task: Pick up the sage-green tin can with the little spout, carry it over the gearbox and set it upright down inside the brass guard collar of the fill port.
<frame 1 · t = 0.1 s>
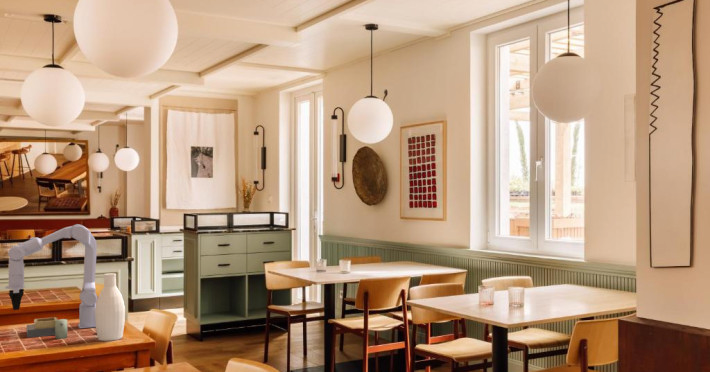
hand: (16, 308, 280), 10 cm above the table, tool pointing down, fingers open, 7 cm apart
spout can: (61, 337, 269), on the table
bottle: (110, 339, 267), on the table
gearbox: (45, 333, 278), on the table
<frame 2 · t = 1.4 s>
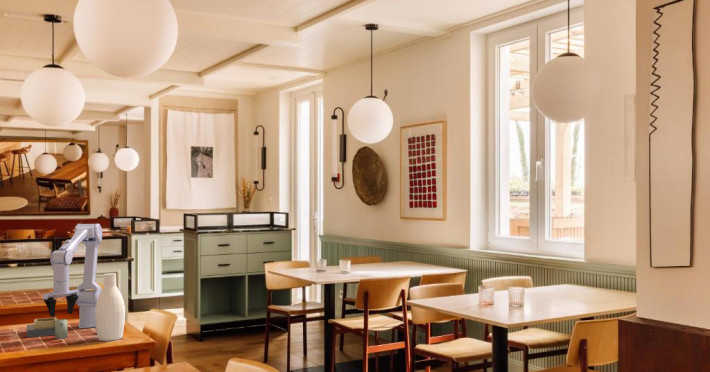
hand: (61, 315, 269), 9 cm above the table, tool pointing down, fingers open, 7 cm apart
nothing on the table moved.
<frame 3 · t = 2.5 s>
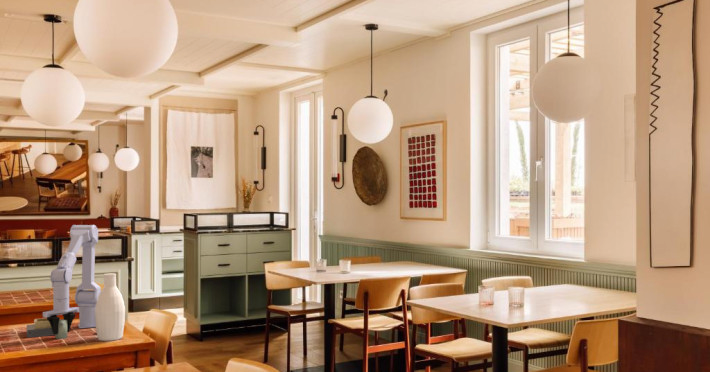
hand: (61, 333, 269), 2 cm above the table, tool pointing down, fingers closed on spout can, 4 cm apart
spout can: (61, 337, 269), on the table, touching gripper
everything else where it was.
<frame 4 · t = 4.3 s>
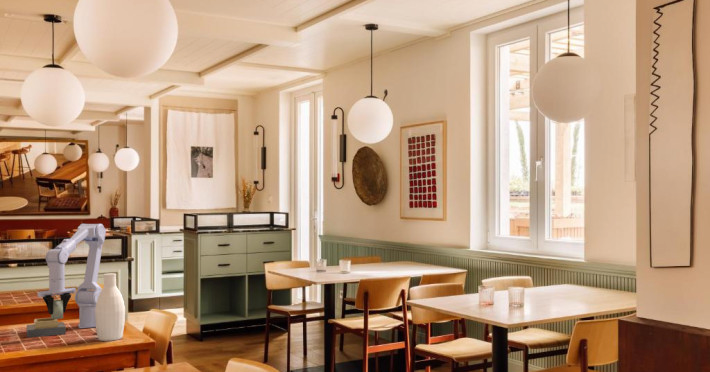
hand: (57, 313, 272), 9 cm above the table, tool pointing down, fingers closed on spout can, 4 cm apart
spout can: (57, 318, 272), point 7 cm above the table, touching gripper
everything else where it was.
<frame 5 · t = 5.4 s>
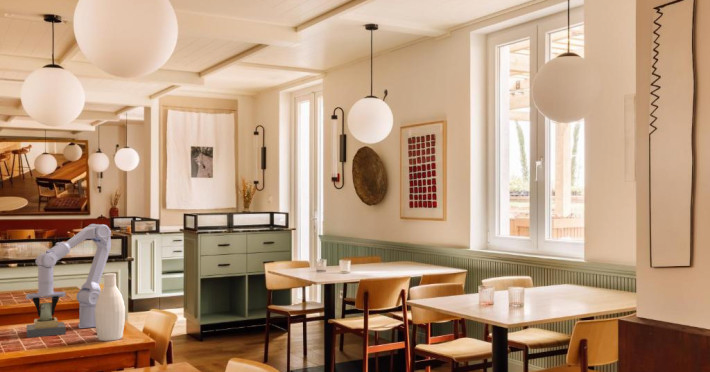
hand: (45, 315, 279), 7 cm above the table, tool pointing down, fingers closed on spout can, 4 cm apart
spout can: (45, 320, 278), point 5 cm above the table, touching gripper
everything else where it was.
when the fingers open (6 cm above the table, at t = 6.0 s): spout can drops 1 cm, resting on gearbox.
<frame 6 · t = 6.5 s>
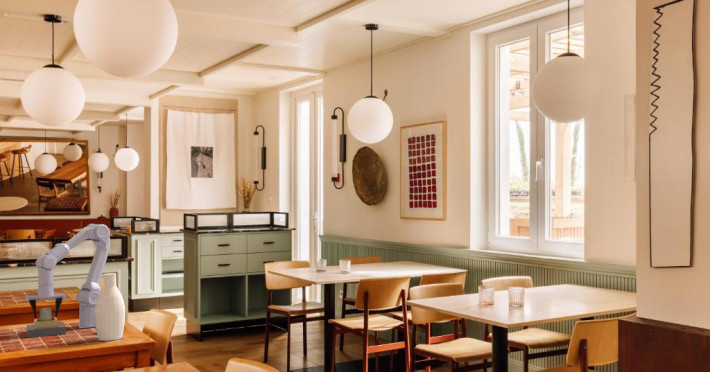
hand: (45, 317, 279), 6 cm above the table, tool pointing down, fingers open, 7 cm apart
spout can: (46, 325, 278), point 3 cm above the table, touching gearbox
everything else where it was.
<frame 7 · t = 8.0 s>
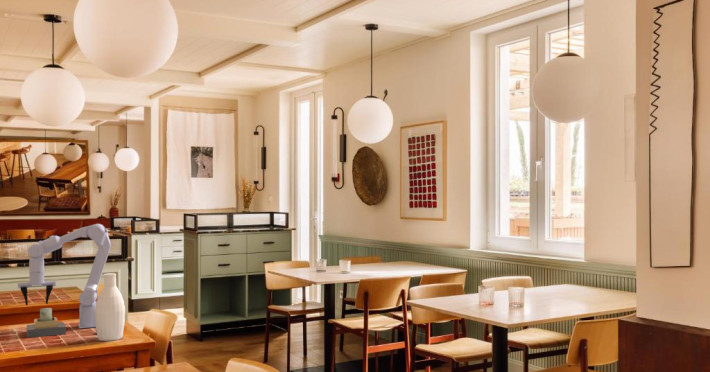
hand: (36, 304, 288), 10 cm above the table, tool pointing down, fingers open, 7 cm apart
nothing on the table moved.
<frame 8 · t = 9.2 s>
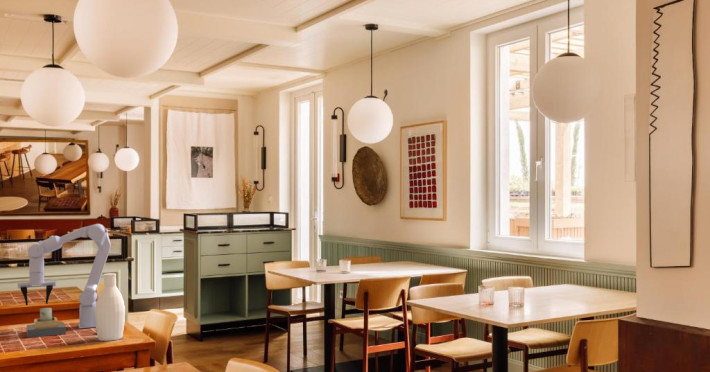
hand: (36, 304, 288), 10 cm above the table, tool pointing down, fingers open, 7 cm apart
nothing on the table moved.
at the end: spout can 0.2 cm off-centre on the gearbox, point 3.0 cm above the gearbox's base; spout can tilted 0°; the gripper is holding nothing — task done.
